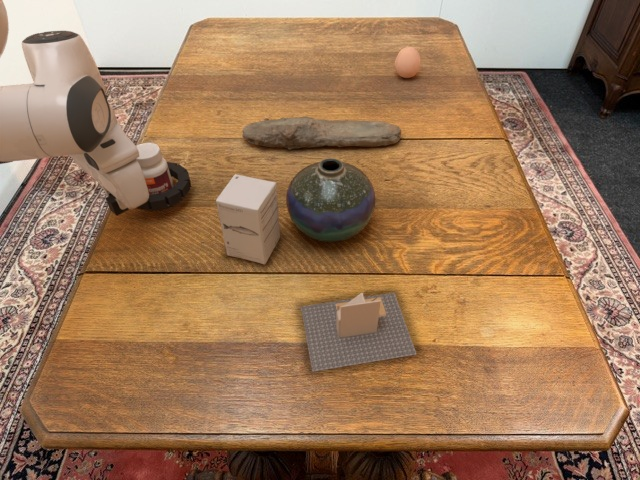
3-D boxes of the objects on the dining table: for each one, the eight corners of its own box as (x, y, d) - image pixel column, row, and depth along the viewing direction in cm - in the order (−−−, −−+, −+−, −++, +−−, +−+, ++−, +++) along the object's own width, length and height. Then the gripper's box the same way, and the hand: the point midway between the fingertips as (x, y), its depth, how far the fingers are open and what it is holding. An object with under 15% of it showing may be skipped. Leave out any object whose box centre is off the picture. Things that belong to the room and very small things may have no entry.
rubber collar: (131, 229, 82) (125, 216, 80) (97, 198, 88) (91, 186, 86) (203, 188, 90) (200, 175, 88) (167, 162, 96) (164, 150, 93)
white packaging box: (225, 256, 80) (213, 200, 71) (244, 228, 85) (234, 171, 76) (265, 266, 79) (257, 210, 70) (282, 237, 84) (276, 180, 75)
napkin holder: (334, 318, 71) (334, 287, 66) (378, 312, 72) (382, 280, 67) (338, 338, 69) (339, 307, 63) (384, 330, 70) (389, 299, 64)
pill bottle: (148, 214, 88) (130, 164, 80) (141, 195, 92) (123, 146, 84) (180, 203, 90) (166, 154, 82) (172, 185, 94) (157, 137, 86)
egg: (392, 71, 128) (395, 41, 123) (417, 71, 128) (421, 42, 122) (394, 82, 124) (397, 52, 118) (419, 82, 123) (424, 53, 118)
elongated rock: (402, 157, 102) (396, 134, 110) (406, 136, 99) (400, 113, 106) (240, 151, 101) (245, 128, 109) (238, 129, 98) (244, 107, 105)
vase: (271, 221, 86) (264, 162, 77) (334, 187, 93) (335, 128, 84) (325, 270, 78) (325, 209, 69) (390, 228, 85) (398, 168, 75)
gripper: (43, 120, 78) (75, 185, 88) (105, 170, 68) (133, 238, 78) (79, 105, 81) (106, 170, 91) (143, 152, 71) (166, 219, 81)
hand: (119, 202), depth 85 cm, fingers closed on rubber collar, 2 cm apart
